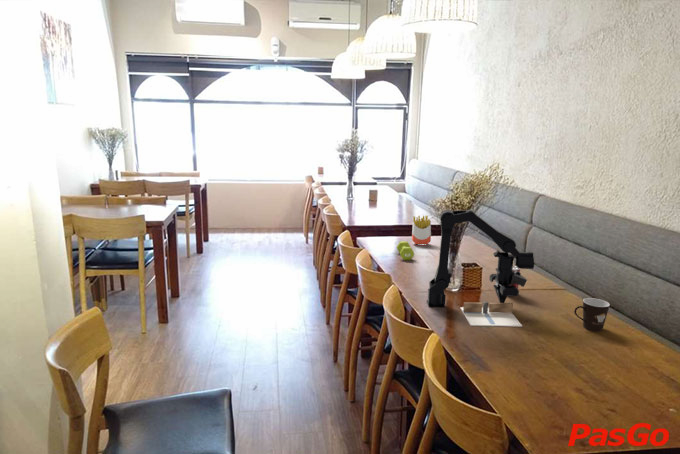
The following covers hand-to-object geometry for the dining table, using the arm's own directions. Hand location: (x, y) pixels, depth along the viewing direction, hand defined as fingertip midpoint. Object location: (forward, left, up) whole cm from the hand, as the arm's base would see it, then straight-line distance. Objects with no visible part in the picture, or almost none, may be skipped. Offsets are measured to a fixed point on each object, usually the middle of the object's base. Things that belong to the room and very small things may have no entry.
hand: (501, 304), depth 188 cm
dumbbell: (-31, +75, -2) cm, 81 cm away
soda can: (+9, +18, -2) cm, 20 cm away
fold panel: (-2, -5, -1) cm, 6 cm away
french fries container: (-18, +102, -2) cm, 104 cm away
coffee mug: (+27, -16, -2) cm, 31 cm away
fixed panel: (-12, -5, -2) cm, 13 cm away
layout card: (-7, -8, -2) cm, 11 cm away
